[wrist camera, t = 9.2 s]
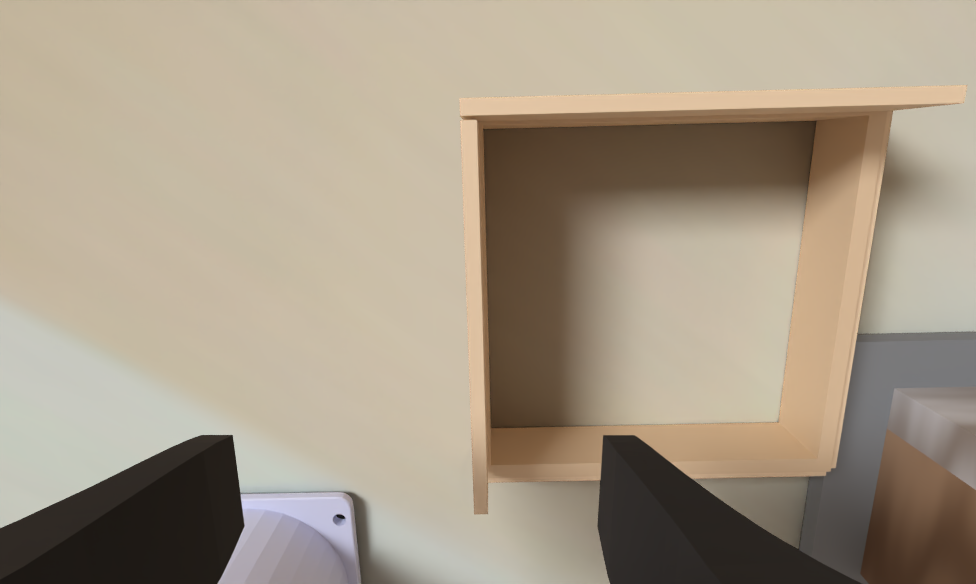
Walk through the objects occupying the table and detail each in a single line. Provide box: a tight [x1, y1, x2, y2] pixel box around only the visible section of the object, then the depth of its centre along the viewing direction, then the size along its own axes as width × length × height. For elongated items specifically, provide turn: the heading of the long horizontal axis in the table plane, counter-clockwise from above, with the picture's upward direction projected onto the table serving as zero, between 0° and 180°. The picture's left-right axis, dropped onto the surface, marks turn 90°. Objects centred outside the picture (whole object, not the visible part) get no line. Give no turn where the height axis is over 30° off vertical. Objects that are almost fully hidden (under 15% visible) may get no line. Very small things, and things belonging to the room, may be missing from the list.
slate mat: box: [799, 332, 976, 584], centre depth 20 cm, size 12×8×1 cm, turn 1°
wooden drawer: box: [459, 85, 967, 514], centre depth 17 cm, size 12×12×5 cm
